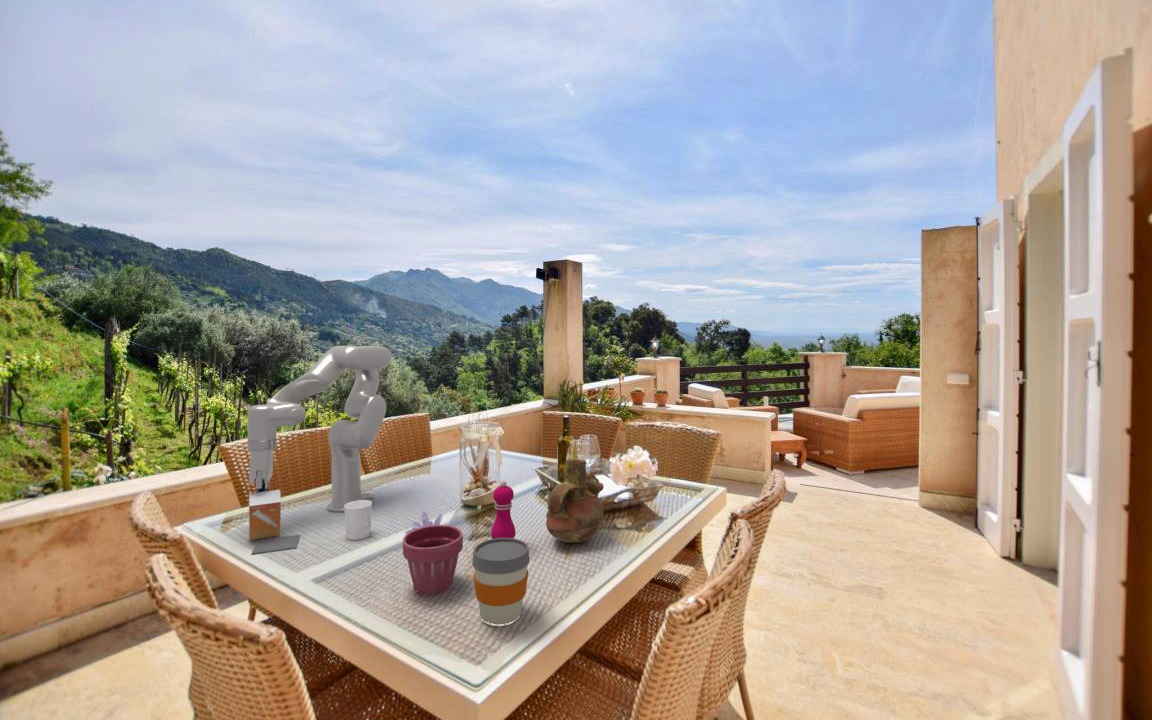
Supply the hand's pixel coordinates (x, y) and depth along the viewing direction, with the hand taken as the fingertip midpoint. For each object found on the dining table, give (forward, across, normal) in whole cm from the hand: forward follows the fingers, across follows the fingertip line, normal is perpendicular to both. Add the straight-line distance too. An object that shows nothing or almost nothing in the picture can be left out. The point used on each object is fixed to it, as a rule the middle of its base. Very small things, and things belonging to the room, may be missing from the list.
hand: (262, 503), depth 151 cm
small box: (+9, +1, +1) cm, 9 cm away
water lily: (+10, +32, +45) cm, 56 cm away
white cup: (+10, +12, +27) cm, 32 cm away
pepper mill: (+10, +38, +66) cm, 77 cm away
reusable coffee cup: (+10, +72, +57) cm, 92 cm away
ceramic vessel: (+10, +40, +90) cm, 99 cm away
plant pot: (+10, +53, +45) cm, 70 cm away
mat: (+10, +11, +5) cm, 15 cm away
